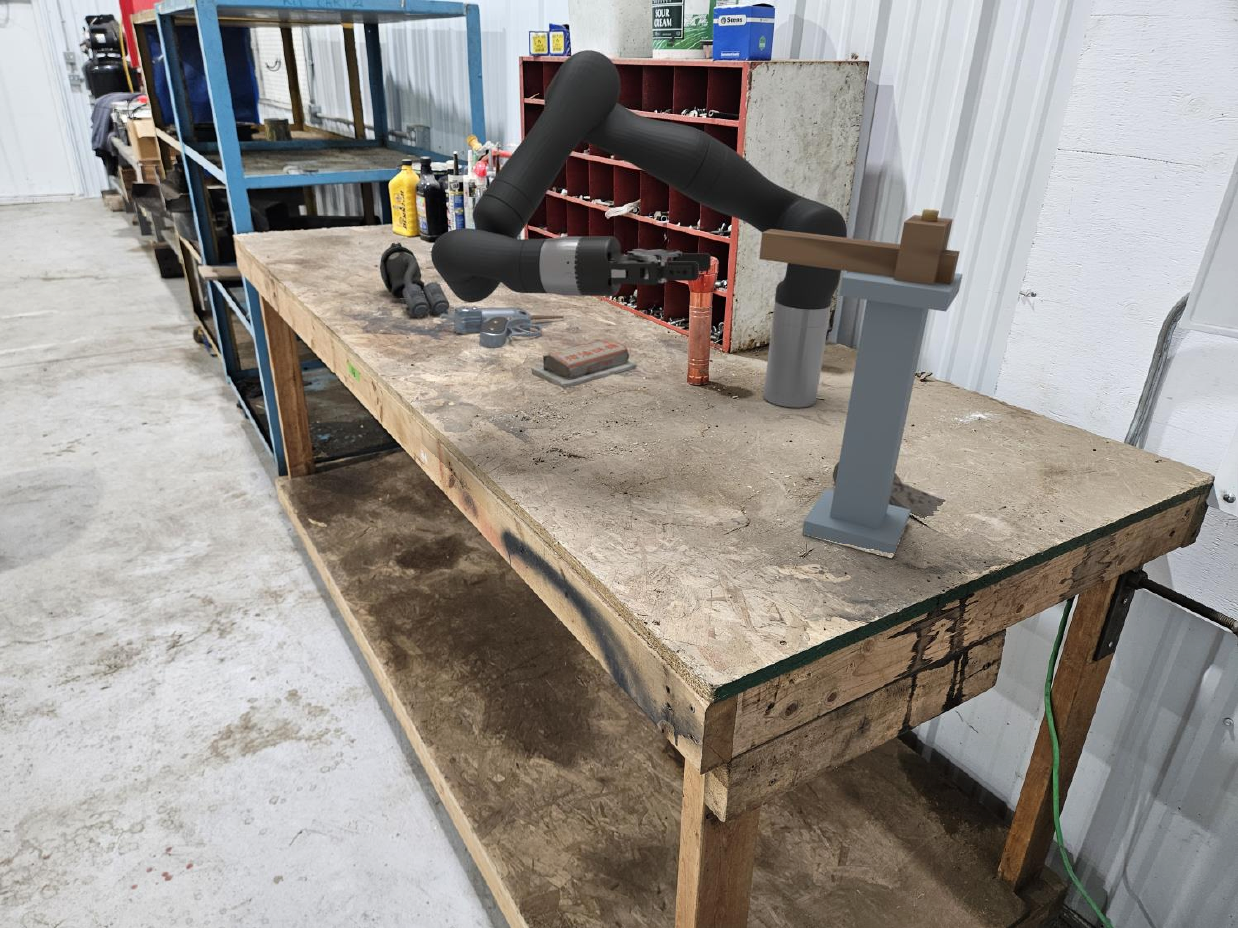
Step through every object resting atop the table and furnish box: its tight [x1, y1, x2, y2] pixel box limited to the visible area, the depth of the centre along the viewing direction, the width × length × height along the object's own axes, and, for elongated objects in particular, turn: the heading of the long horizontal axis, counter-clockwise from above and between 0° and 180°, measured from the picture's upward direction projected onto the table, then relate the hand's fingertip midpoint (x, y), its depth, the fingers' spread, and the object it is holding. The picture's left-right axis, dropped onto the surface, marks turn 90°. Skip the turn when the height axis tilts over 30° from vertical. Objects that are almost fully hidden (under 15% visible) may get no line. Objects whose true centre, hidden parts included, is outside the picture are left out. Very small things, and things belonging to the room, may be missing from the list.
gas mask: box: [379, 242, 451, 319], centre depth 189 cm, size 15×9×26 cm
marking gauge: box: [758, 209, 961, 286], centre depth 89 cm, size 6×21×7 cm, turn 62°
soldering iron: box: [439, 305, 565, 349], centre depth 171 cm, size 6×28×16 cm
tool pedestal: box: [801, 271, 963, 554], centre depth 95 cm, size 10×11×32 cm
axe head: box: [832, 461, 947, 519], centre depth 109 cm, size 20×5×10 cm
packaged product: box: [531, 338, 637, 389], centre depth 151 cm, size 18×5×10 cm
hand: (704, 266), depth 101 cm, fingers open, 8 cm apart
